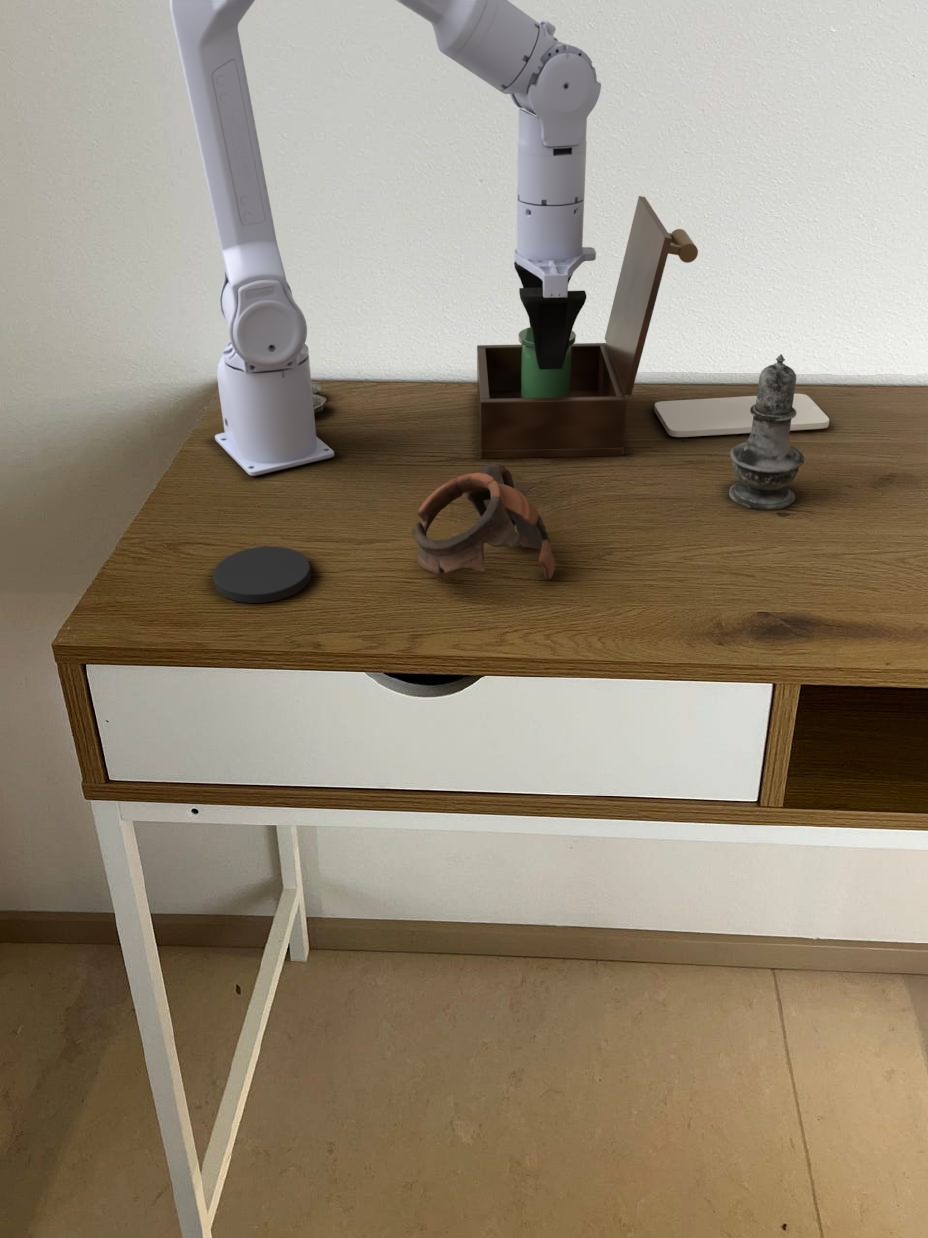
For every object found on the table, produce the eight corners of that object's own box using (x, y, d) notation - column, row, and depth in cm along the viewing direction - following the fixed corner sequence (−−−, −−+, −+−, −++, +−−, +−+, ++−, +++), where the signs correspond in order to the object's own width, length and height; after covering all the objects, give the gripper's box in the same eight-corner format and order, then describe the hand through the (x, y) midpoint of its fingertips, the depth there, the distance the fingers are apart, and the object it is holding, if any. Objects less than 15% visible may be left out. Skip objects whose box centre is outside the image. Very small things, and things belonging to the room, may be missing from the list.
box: (481, 458, 101) (480, 402, 98) (477, 396, 113) (476, 344, 110) (623, 456, 101) (627, 399, 98) (604, 394, 113) (607, 342, 110)
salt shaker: (804, 486, 95) (827, 347, 89) (790, 517, 91) (812, 372, 84) (734, 475, 97) (751, 337, 91) (717, 503, 93) (733, 361, 86)
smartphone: (652, 401, 110) (805, 392, 110) (651, 408, 110) (804, 399, 111) (670, 431, 103) (832, 422, 104) (670, 439, 104) (831, 429, 105)
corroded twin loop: (320, 388, 115) (319, 378, 115) (330, 418, 109) (329, 407, 108) (270, 392, 115) (269, 382, 114) (277, 423, 108) (276, 412, 107)
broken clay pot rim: (564, 606, 81) (511, 529, 76) (448, 644, 85) (390, 572, 79) (565, 494, 89) (517, 417, 84) (459, 532, 93) (407, 461, 87)
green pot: (507, 408, 108) (507, 331, 104) (552, 397, 111) (555, 321, 107) (536, 427, 105) (538, 347, 101) (583, 415, 107) (587, 337, 103)
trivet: (204, 602, 81) (202, 593, 81) (227, 554, 87) (225, 545, 87) (301, 604, 81) (300, 595, 80) (318, 555, 87) (317, 546, 86)
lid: (664, 237, 91) (715, 245, 91) (638, 195, 103) (683, 203, 104) (624, 394, 98) (671, 402, 98) (604, 338, 110) (646, 345, 111)
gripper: (607, 218, 91) (599, 380, 98) (588, 178, 103) (582, 326, 111) (519, 219, 91) (517, 382, 98) (510, 180, 103) (509, 327, 111)
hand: (547, 353), depth 105 cm, fingers open, 7 cm apart
